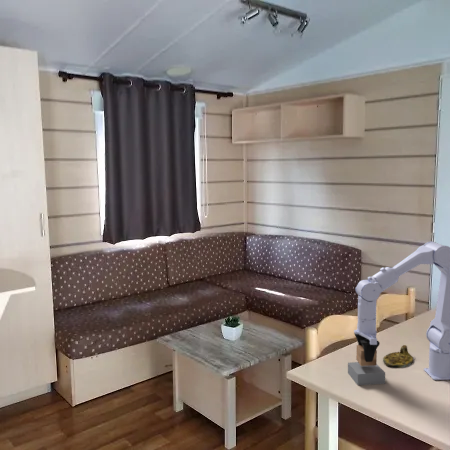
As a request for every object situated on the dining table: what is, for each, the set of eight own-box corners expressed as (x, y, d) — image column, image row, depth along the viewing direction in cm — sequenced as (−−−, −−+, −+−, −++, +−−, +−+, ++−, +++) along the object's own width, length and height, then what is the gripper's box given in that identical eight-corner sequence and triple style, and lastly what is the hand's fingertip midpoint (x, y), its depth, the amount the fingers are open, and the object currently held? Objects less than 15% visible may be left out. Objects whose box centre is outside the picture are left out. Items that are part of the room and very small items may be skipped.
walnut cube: (371, 359, 157) (371, 344, 156) (376, 365, 152) (376, 350, 151) (356, 359, 157) (356, 345, 156) (360, 365, 152) (361, 351, 151)
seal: (403, 375, 160) (418, 360, 171) (405, 362, 159) (419, 348, 170) (376, 365, 166) (392, 351, 177) (378, 352, 165) (394, 339, 176)
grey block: (373, 372, 160) (373, 361, 159) (385, 384, 151) (385, 372, 150) (347, 374, 159) (347, 362, 159) (357, 386, 150) (357, 374, 150)
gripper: (348, 311, 160) (348, 349, 161) (361, 325, 145) (360, 367, 147) (369, 310, 160) (368, 349, 161) (384, 324, 145) (383, 367, 147)
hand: (366, 357), depth 154 cm, fingers closed on walnut cube, 5 cm apart
